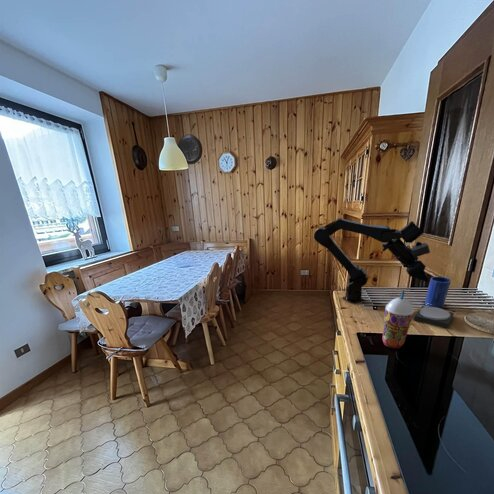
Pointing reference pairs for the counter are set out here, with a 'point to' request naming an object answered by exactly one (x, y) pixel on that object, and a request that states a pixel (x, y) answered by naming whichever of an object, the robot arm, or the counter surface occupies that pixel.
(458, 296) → the counter surface
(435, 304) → the tumbler
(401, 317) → the smoothie
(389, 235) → the robot arm
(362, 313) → the counter surface
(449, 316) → the scale
